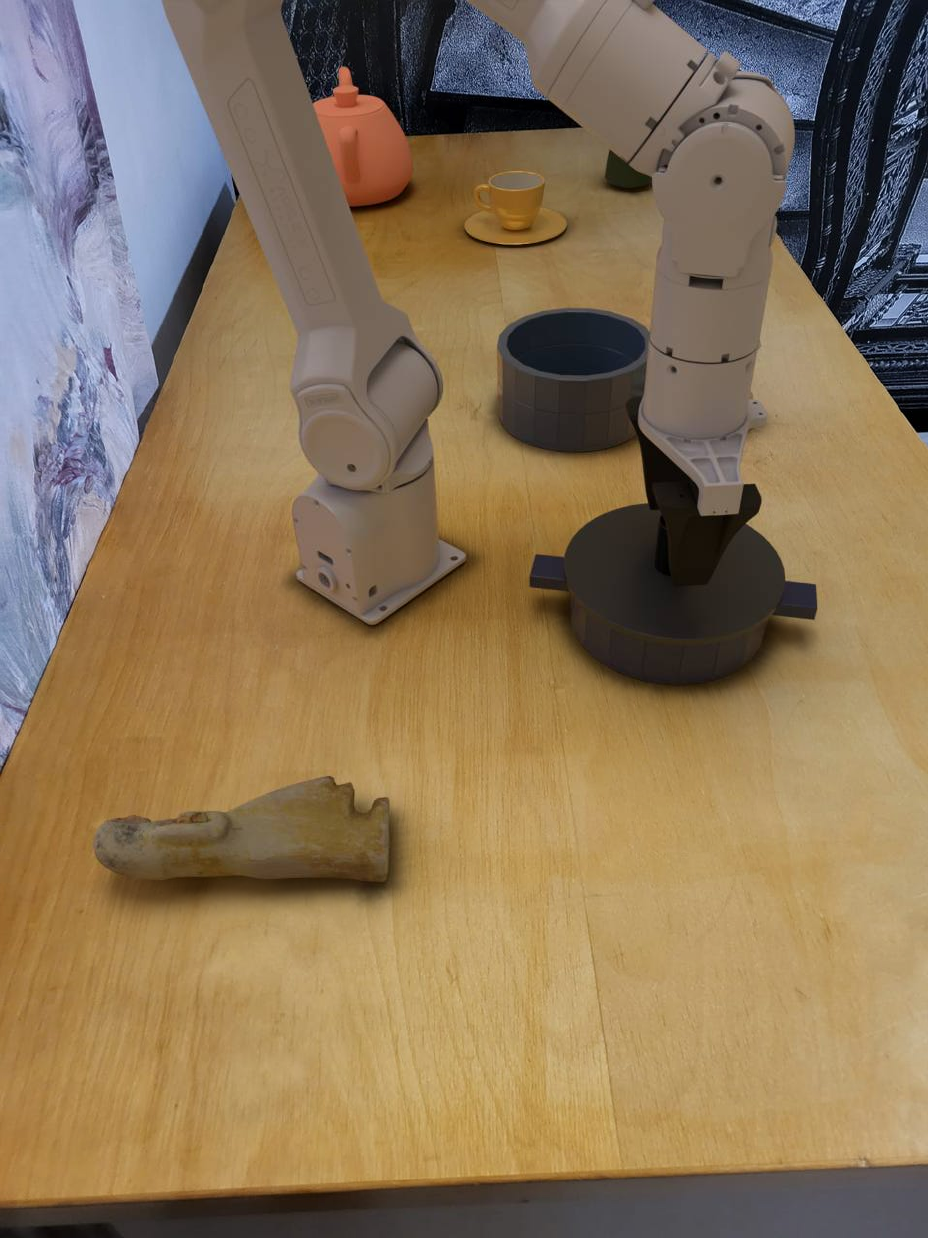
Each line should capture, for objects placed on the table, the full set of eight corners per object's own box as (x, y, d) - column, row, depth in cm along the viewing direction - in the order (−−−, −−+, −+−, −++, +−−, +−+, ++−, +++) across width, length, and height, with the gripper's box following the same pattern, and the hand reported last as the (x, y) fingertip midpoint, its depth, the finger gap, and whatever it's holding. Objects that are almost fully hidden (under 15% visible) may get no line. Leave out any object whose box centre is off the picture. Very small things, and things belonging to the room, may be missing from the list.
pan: (810, 703, 60) (823, 656, 58) (515, 665, 64) (515, 619, 61) (804, 572, 69) (815, 527, 67) (546, 545, 73) (547, 500, 70)
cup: (574, 212, 121) (576, 165, 118) (556, 250, 113) (558, 201, 109) (478, 206, 124) (476, 160, 120) (453, 244, 115) (451, 195, 112)
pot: (586, 470, 80) (591, 397, 76) (467, 417, 86) (465, 347, 82) (677, 406, 87) (685, 335, 82) (560, 361, 93) (562, 294, 89)
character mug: (672, 174, 130) (683, 62, 121) (673, 194, 125) (685, 78, 116) (587, 174, 131) (592, 63, 122) (585, 193, 126) (590, 78, 117)
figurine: (389, 763, 55) (104, 762, 53) (394, 810, 50) (79, 810, 48) (385, 848, 56) (107, 850, 54) (390, 902, 51) (84, 906, 49)
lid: (784, 666, 58) (799, 606, 55) (547, 637, 61) (549, 578, 58) (781, 526, 68) (793, 468, 65) (578, 505, 71) (581, 449, 68)
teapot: (300, 166, 137) (286, 66, 129) (410, 159, 138) (403, 59, 130) (294, 226, 121) (278, 115, 113) (419, 217, 122) (412, 107, 113)
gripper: (820, 403, 48) (772, 615, 57) (744, 278, 59) (714, 473, 68) (673, 411, 48) (649, 623, 57) (623, 284, 59) (609, 479, 68)
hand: (676, 542), depth 62 cm, fingers open, 7 cm apart
